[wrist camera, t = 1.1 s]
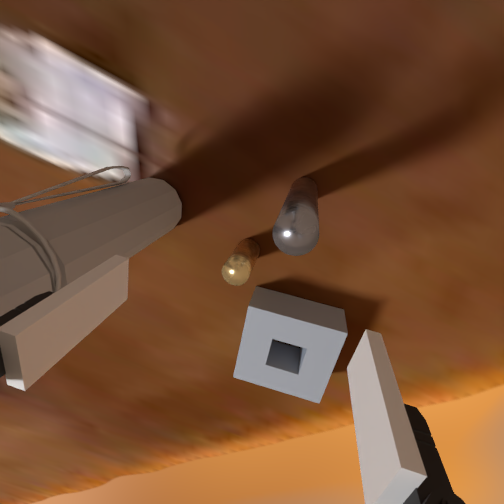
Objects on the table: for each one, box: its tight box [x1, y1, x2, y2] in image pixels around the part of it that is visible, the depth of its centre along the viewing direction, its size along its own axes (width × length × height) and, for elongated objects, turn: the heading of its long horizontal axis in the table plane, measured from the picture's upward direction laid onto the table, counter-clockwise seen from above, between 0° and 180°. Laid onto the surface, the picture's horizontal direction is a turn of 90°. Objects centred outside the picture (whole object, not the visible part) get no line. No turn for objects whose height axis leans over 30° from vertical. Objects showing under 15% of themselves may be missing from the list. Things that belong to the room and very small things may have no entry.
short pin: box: [222, 239, 260, 286], centre depth 34 cm, size 3×3×7 cm
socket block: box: [233, 286, 348, 403], centre depth 39 cm, size 12×12×5 cm
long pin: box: [273, 177, 319, 256], centre depth 26 cm, size 3×3×16 cm
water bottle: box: [0, 166, 182, 316], centre depth 26 cm, size 9×8×25 cm
